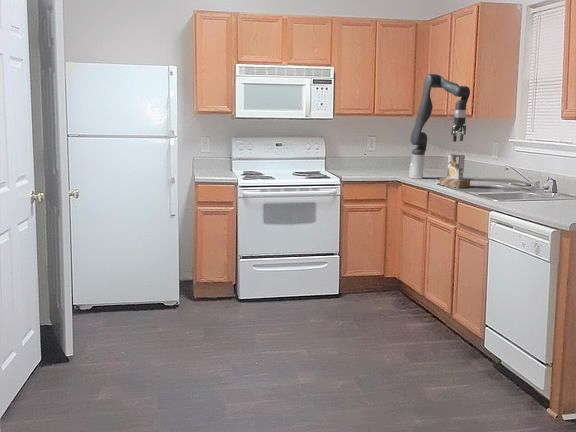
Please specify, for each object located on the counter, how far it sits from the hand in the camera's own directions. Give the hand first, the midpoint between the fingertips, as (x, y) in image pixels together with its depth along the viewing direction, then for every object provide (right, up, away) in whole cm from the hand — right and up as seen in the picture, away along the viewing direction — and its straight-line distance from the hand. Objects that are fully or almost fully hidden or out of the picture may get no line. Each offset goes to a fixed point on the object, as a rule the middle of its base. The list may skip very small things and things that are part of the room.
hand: (457, 141), depth 442 cm
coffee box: (-1, -25, +4) cm, 25 cm away
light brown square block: (-1, -30, +5) cm, 30 cm away
